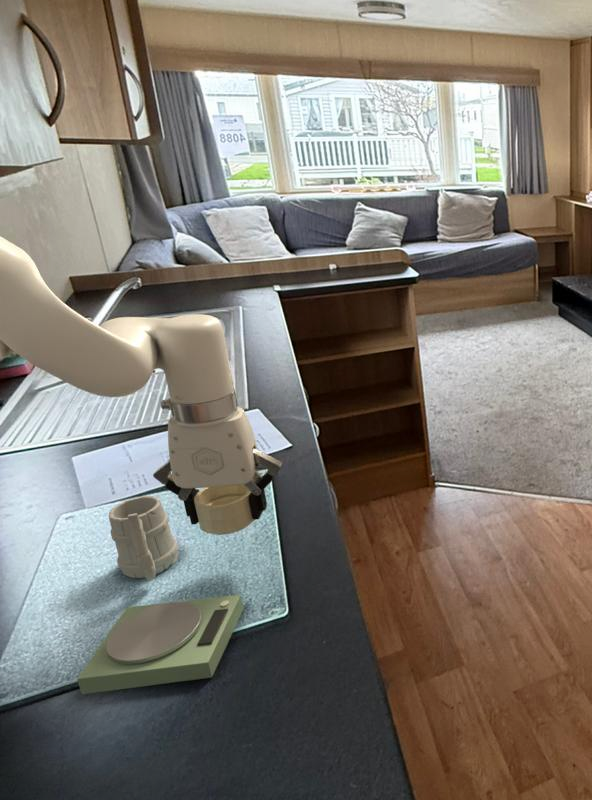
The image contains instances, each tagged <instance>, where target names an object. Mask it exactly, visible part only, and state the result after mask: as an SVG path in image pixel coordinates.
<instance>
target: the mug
mask: <svg viewBox="0 0 592 800" xmlns="http://www.w3.org/2000/svg"><path fill="white" fill-rule="evenodd" d="M108 519H109V524H110V528H111V529H110V536H111V539H112V541H113V542H114V543H115V547H116V551H117V558H116V563H117V568H118V569H119V570H120V571H122V573H123V575H124V576H126V577H129V578H132V579H143V578H145V579H146V581H147V582H151V581H154V580H155V579H156V575H157V574H159V573H163V572H164V571H165V570H168V569H169V568H170V566H173V565H174V564H175V563H176V562H177V560H178V558H179V554H178V553H179V552H178V551H179V549H180V547H179V542H178V541H177V539H176V538H175V537H173V533H172V531H171V528H170V527H171V526H170V525H169V523H170V518H169V515H168V513H166V512H165V510H164V507H163V504H162V501H161V499H159V498H158V496H157V497H156V496H154V495H143V496H140V497H135V498H130V499H126V500H124V501H122V502H120V503H118V504H117V505H115V506H114V507H112V508H111V509H110V510H109V513H108Z"/></svg>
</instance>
